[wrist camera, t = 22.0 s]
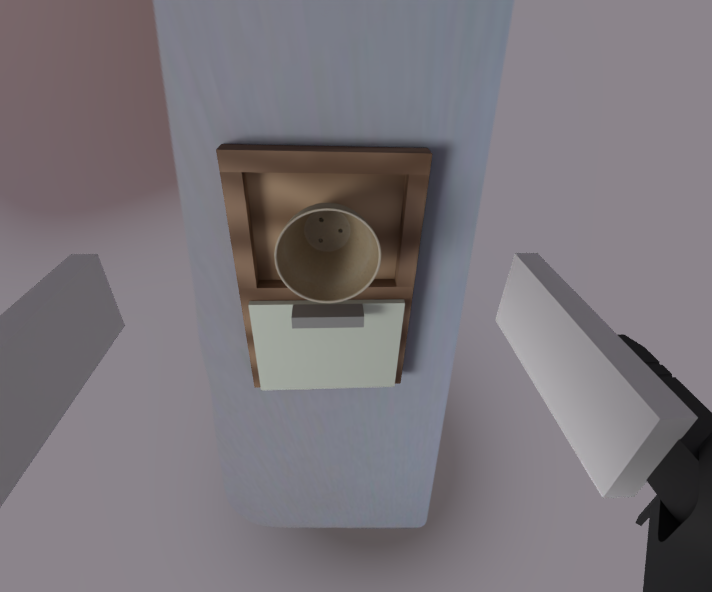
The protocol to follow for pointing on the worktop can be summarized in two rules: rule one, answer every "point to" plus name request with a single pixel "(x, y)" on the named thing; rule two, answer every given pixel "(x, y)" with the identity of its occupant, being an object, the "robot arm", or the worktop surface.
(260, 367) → the lid
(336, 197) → the wooden box
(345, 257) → the flower pot
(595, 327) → the robot arm
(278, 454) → the worktop surface
